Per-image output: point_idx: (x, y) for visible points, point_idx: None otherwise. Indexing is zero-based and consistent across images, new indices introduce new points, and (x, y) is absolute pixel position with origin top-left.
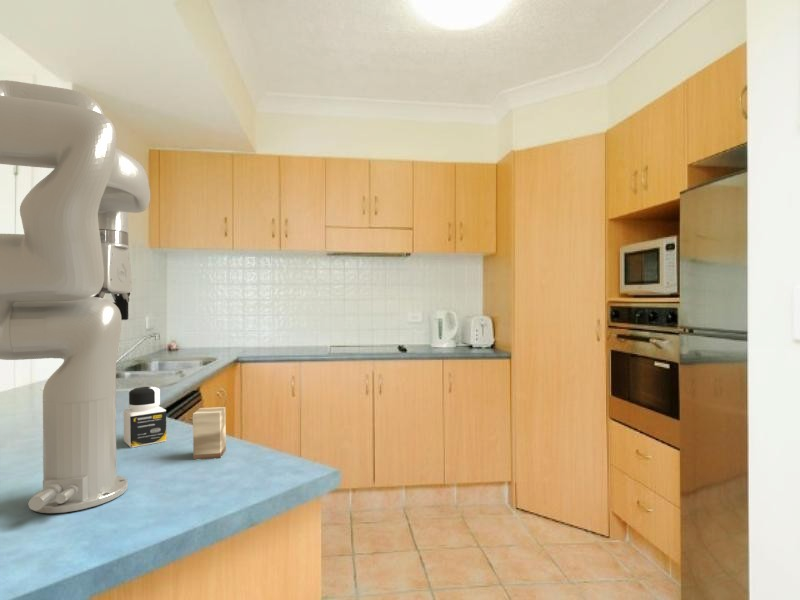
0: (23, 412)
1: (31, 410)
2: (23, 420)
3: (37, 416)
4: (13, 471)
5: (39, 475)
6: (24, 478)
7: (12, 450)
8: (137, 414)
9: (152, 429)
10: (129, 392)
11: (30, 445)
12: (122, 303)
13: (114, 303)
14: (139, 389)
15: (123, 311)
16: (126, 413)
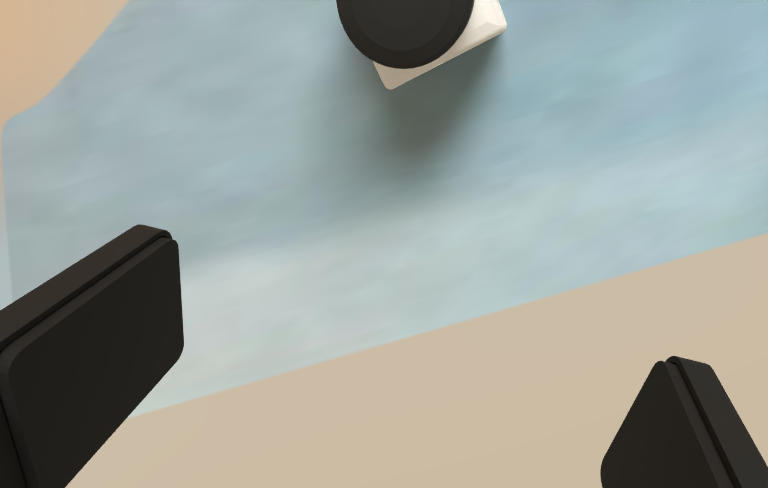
0: None
1: None
2: None
3: None
4: (606, 267)
5: (682, 198)
6: (690, 224)
7: (404, 328)
8: (496, 3)
9: None
10: (427, 62)
11: (369, 306)
12: (28, 399)
13: (45, 483)
14: (439, 10)
15: (116, 311)
16: (442, 63)
